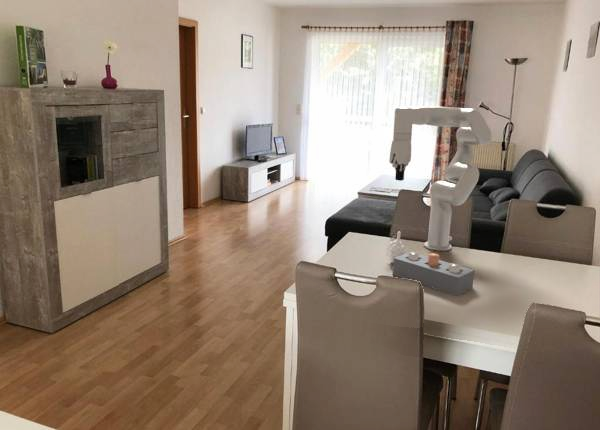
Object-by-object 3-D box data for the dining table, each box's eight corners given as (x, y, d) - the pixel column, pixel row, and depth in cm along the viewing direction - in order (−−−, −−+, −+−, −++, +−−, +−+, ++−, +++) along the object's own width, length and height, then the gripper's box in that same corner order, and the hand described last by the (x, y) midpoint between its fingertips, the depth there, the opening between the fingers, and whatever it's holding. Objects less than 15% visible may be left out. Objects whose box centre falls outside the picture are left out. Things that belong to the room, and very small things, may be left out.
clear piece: (450, 282, 192) (452, 262, 190) (460, 285, 189) (462, 265, 187) (445, 285, 189) (447, 265, 187) (454, 288, 186) (457, 267, 184)
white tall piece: (403, 260, 218) (405, 229, 215) (404, 265, 212) (407, 233, 209) (386, 259, 219) (388, 228, 215) (387, 264, 213) (389, 232, 209)
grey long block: (409, 267, 209) (411, 251, 208) (472, 287, 190) (474, 270, 188) (392, 274, 201) (393, 258, 199) (456, 295, 182) (458, 277, 180)
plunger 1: (410, 269, 204) (412, 251, 202) (419, 272, 202) (420, 253, 200) (404, 272, 202) (406, 253, 200) (413, 274, 199) (415, 255, 197)
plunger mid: (430, 272, 198) (432, 252, 196) (439, 274, 195) (441, 255, 193) (424, 274, 195) (426, 254, 193) (433, 277, 192) (435, 257, 190)
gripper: (404, 135, 219) (401, 176, 224) (384, 137, 209) (382, 181, 213) (419, 136, 214) (416, 179, 219) (400, 138, 204) (397, 183, 208)
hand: (399, 179), depth 216 cm, fingers closed
